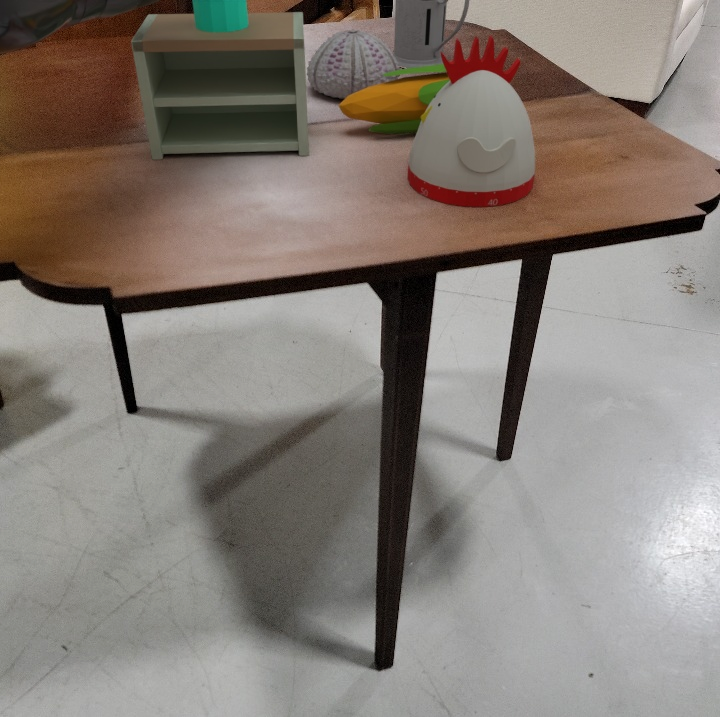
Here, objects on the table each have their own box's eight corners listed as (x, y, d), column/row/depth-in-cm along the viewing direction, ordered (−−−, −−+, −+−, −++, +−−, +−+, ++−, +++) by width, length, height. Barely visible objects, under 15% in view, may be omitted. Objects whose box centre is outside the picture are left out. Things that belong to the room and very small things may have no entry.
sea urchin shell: (348, 112, 99) (348, 50, 94) (287, 88, 107) (284, 29, 102) (417, 91, 106) (420, 32, 101) (356, 70, 114) (356, 15, 109)
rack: (152, 159, 86) (130, 40, 78) (165, 123, 95) (148, 14, 87) (309, 155, 87) (304, 38, 79) (307, 120, 96) (302, 11, 88)
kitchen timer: (400, 157, 87) (405, 21, 77) (514, 152, 88) (532, 18, 78) (418, 209, 76) (427, 58, 66) (548, 204, 77) (574, 54, 67)
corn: (505, 67, 89) (346, 81, 84) (499, 130, 93) (348, 146, 89) (479, 55, 95) (330, 67, 90) (475, 115, 99) (333, 129, 95)
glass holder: (419, 51, 122) (425, -50, 113) (481, 71, 114) (492, -37, 104) (379, 60, 118) (381, -44, 109) (440, 82, 109) (448, -30, 100)
